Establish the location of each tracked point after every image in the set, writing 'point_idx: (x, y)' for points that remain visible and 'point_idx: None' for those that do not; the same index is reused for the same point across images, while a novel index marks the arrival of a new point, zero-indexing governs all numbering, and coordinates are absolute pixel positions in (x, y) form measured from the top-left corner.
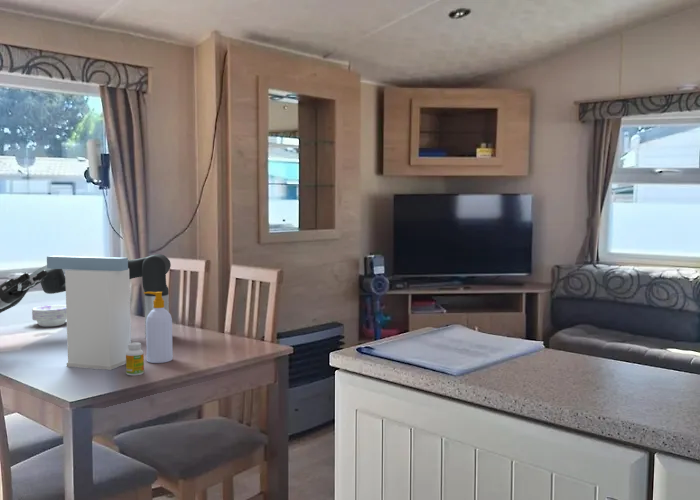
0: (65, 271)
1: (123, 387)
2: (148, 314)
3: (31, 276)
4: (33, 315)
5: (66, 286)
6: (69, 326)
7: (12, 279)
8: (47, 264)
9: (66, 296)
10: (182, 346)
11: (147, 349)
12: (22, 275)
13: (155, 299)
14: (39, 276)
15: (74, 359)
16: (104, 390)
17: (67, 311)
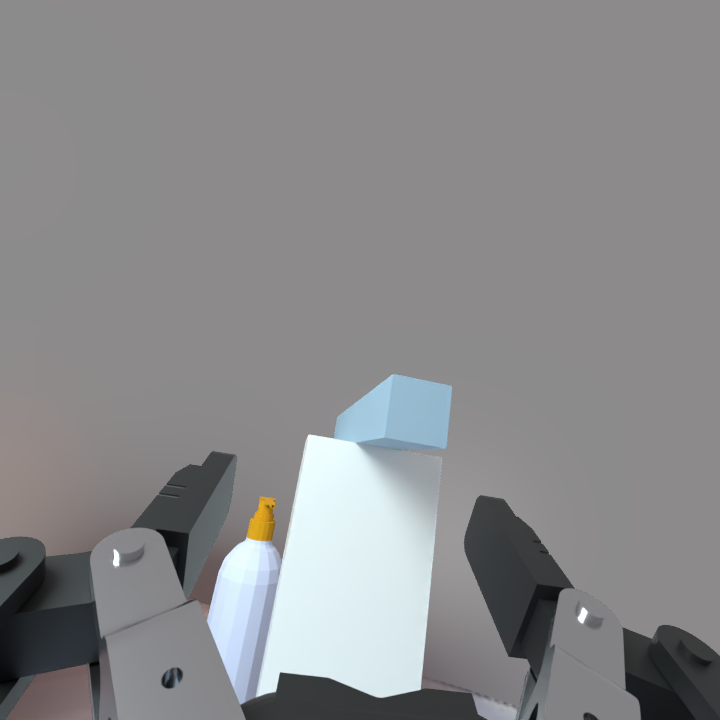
0: (441, 461)
1: (445, 688)
2: (269, 563)
3: (188, 603)
4: None
5: (434, 520)
6: None
7: (675, 637)
8: (446, 427)
9: (431, 563)
10: (26, 698)
11: (257, 671)
12: (534, 533)
13: (272, 517)
14: (194, 553)
15: None
16: (482, 706)
17: (424, 630)
